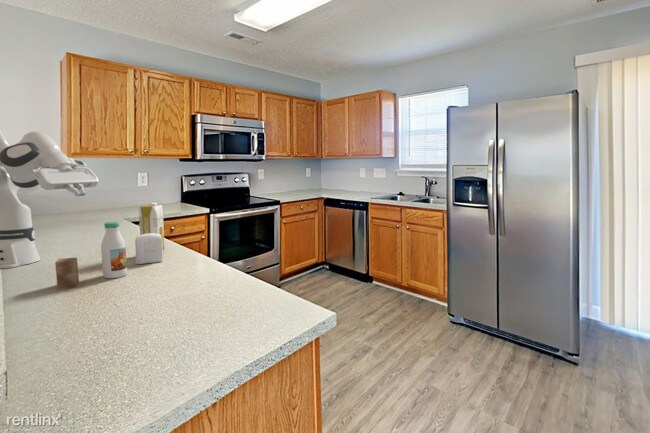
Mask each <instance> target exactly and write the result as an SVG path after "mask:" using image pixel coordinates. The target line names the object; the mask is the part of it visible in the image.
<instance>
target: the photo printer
mask: <svg viewBox="0 0 650 433" xmlns="http://www.w3.org/2000/svg"><path fill="white" fill-rule="evenodd" d="M134 245H135V264H137V265H143V264H151V263H160V262H161V263H162V262H163V261H164V254H163V245H162V237H161V235H160V234H154V233H148V234H142V235H140V234H139V235H137V236H136V237H135V242H134Z"/></svg>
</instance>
